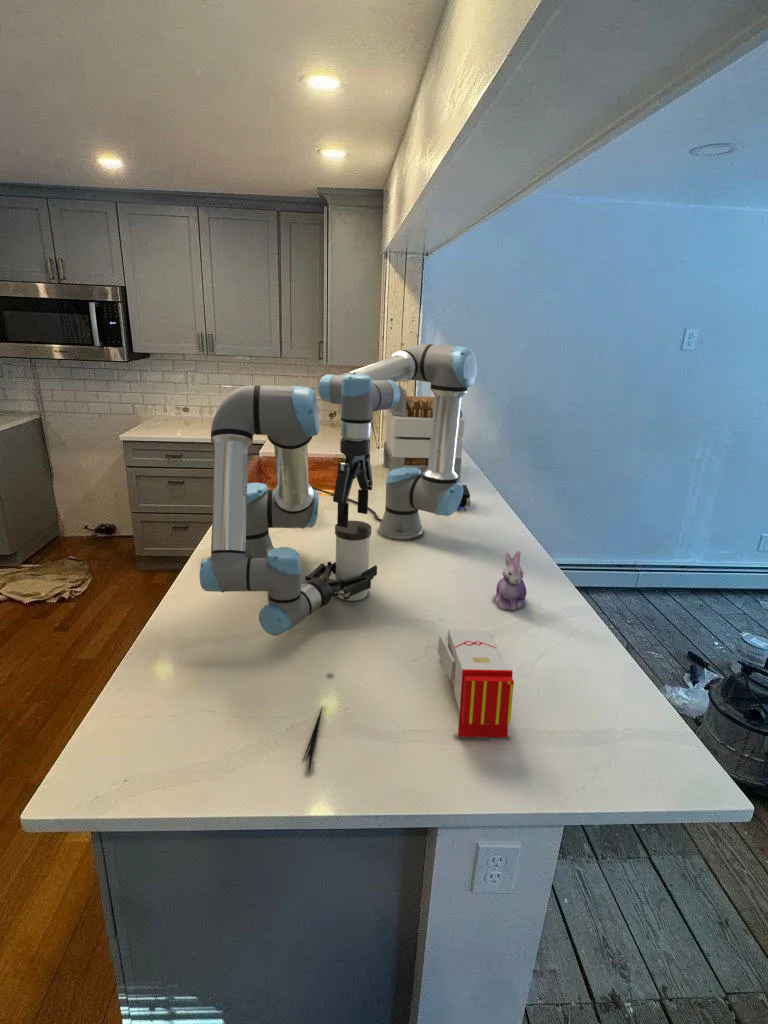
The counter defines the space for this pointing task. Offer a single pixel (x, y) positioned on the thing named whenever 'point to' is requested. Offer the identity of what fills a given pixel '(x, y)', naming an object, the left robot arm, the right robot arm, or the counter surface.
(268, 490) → the left robot arm
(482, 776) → the counter surface
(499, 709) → the toy
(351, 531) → the lid
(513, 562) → the figurine
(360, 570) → the jar
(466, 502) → the figurine character
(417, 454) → the light grey slatted crate
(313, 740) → the feather
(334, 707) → the counter surface
